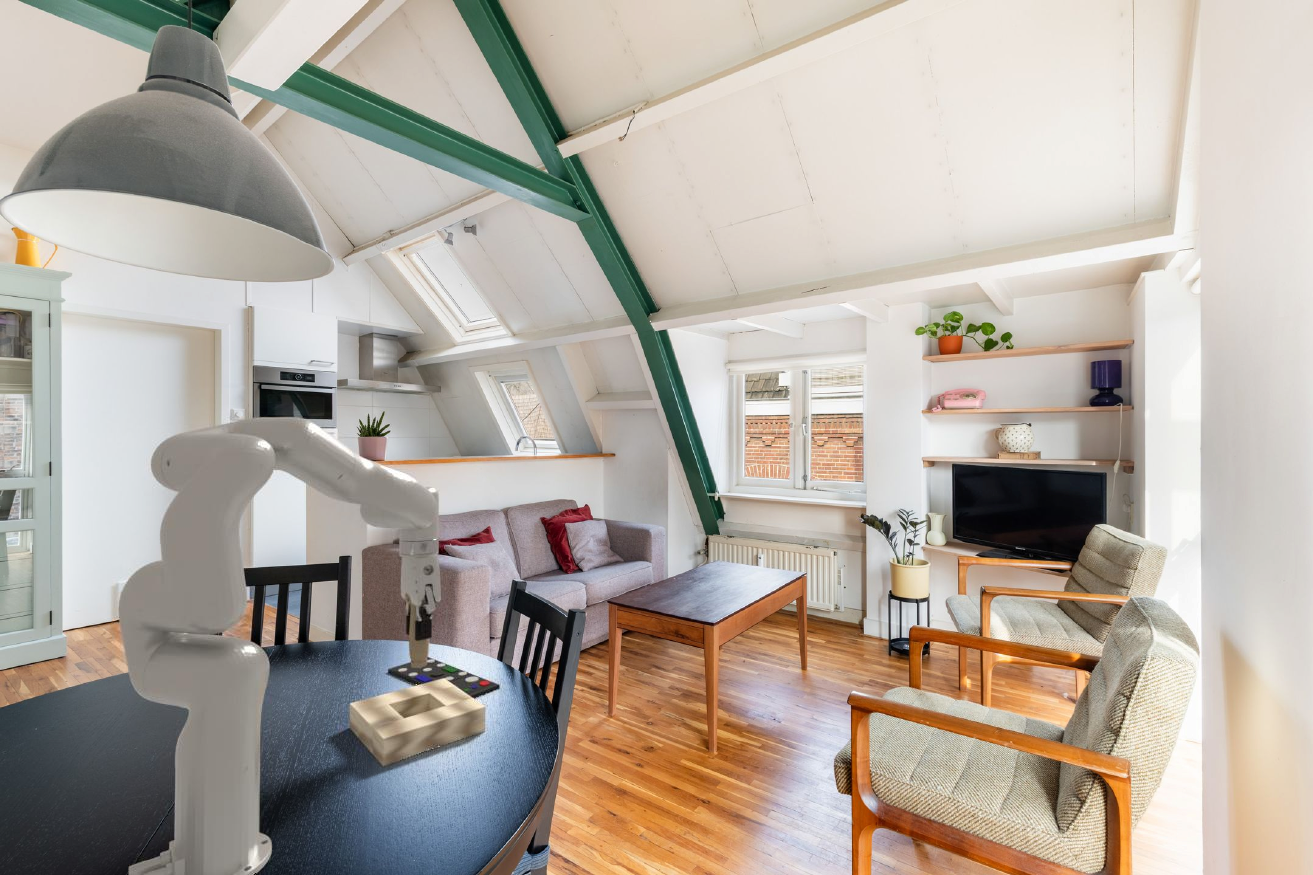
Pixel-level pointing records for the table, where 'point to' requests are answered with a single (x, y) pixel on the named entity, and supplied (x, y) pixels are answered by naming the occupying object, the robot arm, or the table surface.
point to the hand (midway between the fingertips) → (418, 635)
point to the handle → (416, 648)
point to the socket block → (415, 720)
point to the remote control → (441, 670)
